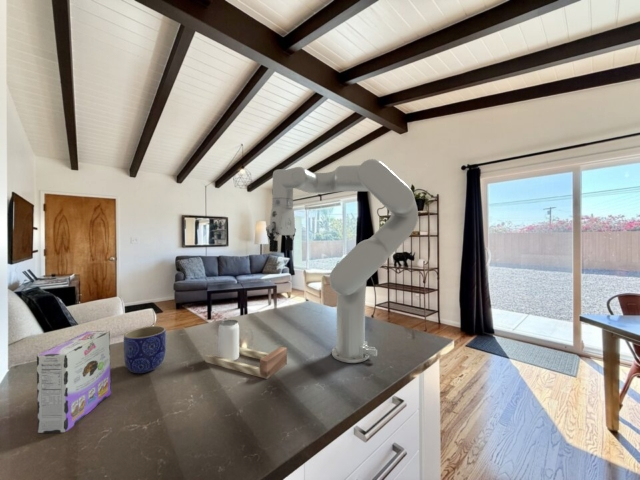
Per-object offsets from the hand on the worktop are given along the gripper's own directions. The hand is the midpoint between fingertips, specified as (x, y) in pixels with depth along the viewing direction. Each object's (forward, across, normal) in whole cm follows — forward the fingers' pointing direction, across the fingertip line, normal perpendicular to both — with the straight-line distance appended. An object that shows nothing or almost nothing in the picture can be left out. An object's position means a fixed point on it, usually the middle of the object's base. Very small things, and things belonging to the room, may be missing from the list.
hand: (281, 251), depth 102 cm
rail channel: (+35, -17, +1) cm, 39 cm away
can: (+35, -17, +8) cm, 40 cm away
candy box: (+36, -54, +18) cm, 67 cm away
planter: (+36, -34, +25) cm, 55 cm away
